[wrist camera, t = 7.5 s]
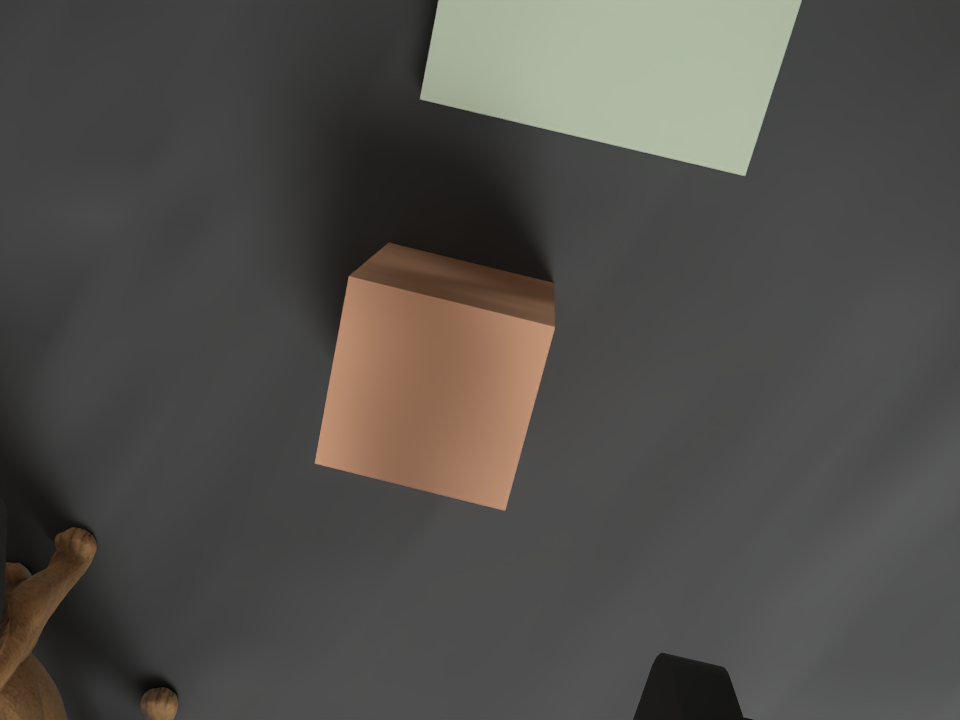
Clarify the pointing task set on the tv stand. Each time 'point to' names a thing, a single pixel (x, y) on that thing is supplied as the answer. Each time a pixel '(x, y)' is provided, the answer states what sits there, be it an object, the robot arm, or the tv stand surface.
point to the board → (617, 70)
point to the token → (436, 374)
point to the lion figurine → (27, 607)
